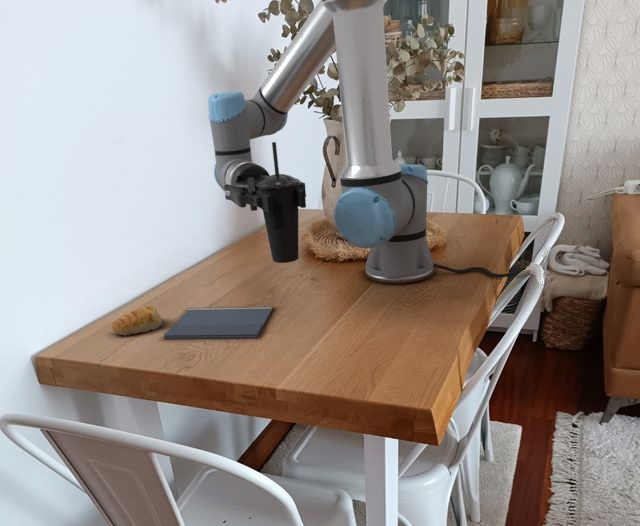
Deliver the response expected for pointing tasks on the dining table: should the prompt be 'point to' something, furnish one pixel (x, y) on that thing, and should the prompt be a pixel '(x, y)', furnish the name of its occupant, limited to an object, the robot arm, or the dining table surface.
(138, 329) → the pastry
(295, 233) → the drinking cup
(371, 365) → the dining table surface
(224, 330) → the dark gray flat panel
